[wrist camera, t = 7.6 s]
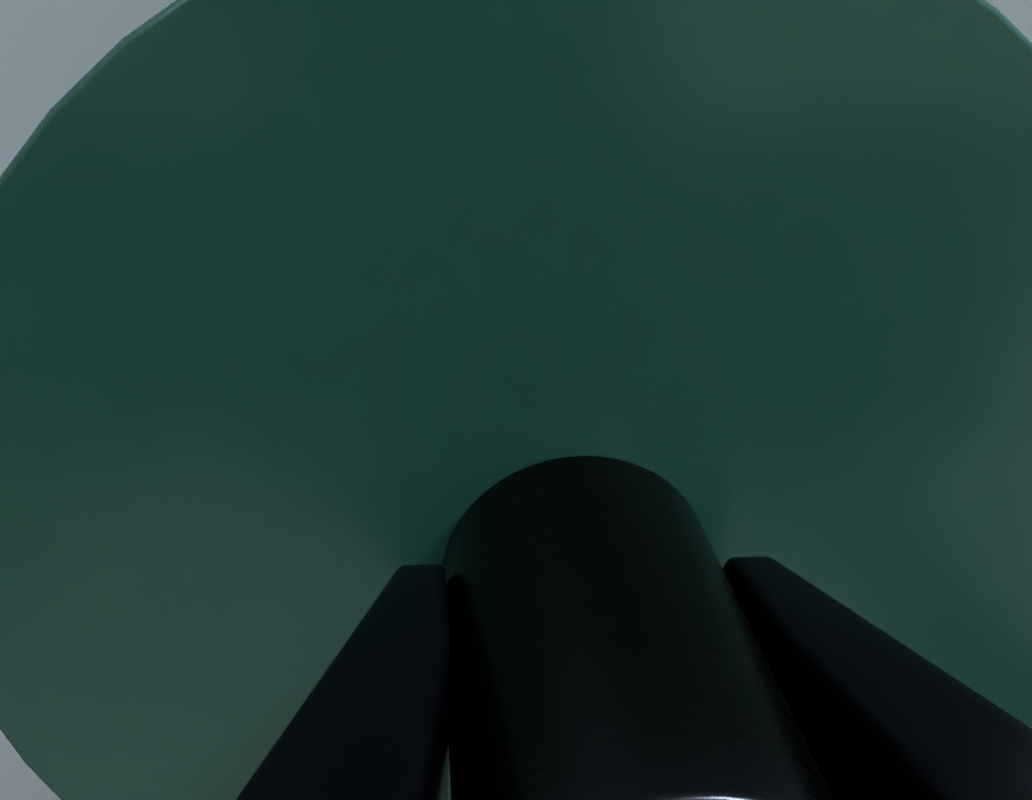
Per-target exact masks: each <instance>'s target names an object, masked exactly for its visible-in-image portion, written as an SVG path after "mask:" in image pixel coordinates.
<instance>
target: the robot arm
mask: <svg viewBox="0 0 1032 800" xmlns="http://www.w3.org/2000/svg"><path fill="white" fill-rule="evenodd" d="M723 571H724V573H725V575H726V577H727V579H728V581H729V583H730V585H731V587H732V589H733V591H734V593H735V596H736V598H737V600H738V602H739V604H740V606H741V608H742V610H743V612H744V614H745V616H746V618H747V620H748V623H749V625H750V627H751V629H752V631H753V633H754V635H755V637H756V639H757V641H758V643H759V645H760V648H761V650H762V652H763V654H764V656H765V658H766V660H767V662H768V664H769V666H770V668H771V670H772V673H773V675H774V677H775V679H776V681H777V683H778V685H779V687H780V689H781V691H782V693H783V695H784V698H785V700H786V702H787V704H788V706H789V708H790V710H791V712H792V714H793V716H794V718H795V720H796V723H797V725H798V727H799V729H800V731H801V733H802V735H803V737H804V739H805V741H806V743H807V745H808V748H809V750H810V752H811V754H812V756H813V758H814V760H815V762H816V764H817V766H818V768H819V770H820V773H821V775H822V777H823V779H824V781H825V783H826V785H827V787H828V789H829V791H830V793H831V795H832V798H833V800H1032V728H1030V727H1029V726H1027V725H1026V724H1024V723H1023V722H1021V721H1020V720H1018V719H1017V718H1015V717H1014V716H1012V715H1011V714H1009V713H1008V712H1006V711H1005V710H1003V709H1002V708H1000V707H998V706H997V705H995V704H994V703H992V702H991V701H989V700H988V699H986V698H985V697H983V696H982V695H980V694H979V693H977V692H976V691H974V690H973V689H971V688H970V687H968V686H966V685H965V684H963V683H962V682H960V681H959V680H957V679H956V678H954V677H953V676H951V675H950V674H948V673H947V672H945V671H944V670H942V669H941V668H939V667H938V666H936V665H934V664H933V663H931V662H930V661H928V660H927V659H925V658H924V657H922V656H921V655H919V654H918V653H916V652H915V651H913V650H912V649H910V648H909V647H907V646H906V645H904V644H903V643H901V642H899V641H898V640H896V639H895V638H893V637H892V636H890V635H889V634H887V633H886V632H884V631H883V630H881V629H880V628H878V627H877V626H875V625H874V624H872V623H871V622H869V621H867V620H866V619H864V618H863V617H861V616H860V615H858V614H857V613H855V612H854V611H852V610H851V609H849V608H848V607H846V606H845V605H843V604H842V603H840V602H839V601H837V600H835V599H834V598H832V597H831V596H829V595H828V594H826V593H825V592H823V591H822V590H820V589H819V588H817V587H816V586H814V585H813V584H811V583H810V582H808V581H807V580H805V579H803V578H802V577H800V576H799V575H797V574H796V573H794V572H793V571H791V570H790V569H788V568H787V567H785V566H784V565H782V564H781V563H779V562H778V561H776V560H774V559H772V558H771V557H767V556H754V557H731V558H730V559H728V560H727V561H726V562H725V564H724V566H723ZM449 703H450V627H449V613H448V599H447V585H446V573H445V569H444V568H443V566H441V565H439V564H420V565H402V566H401V567H399V568H398V569H397V570H396V572H395V573H394V574H393V576H392V577H391V579H390V580H389V581H388V583H387V584H386V586H385V587H384V589H383V590H382V591H381V593H380V594H379V596H378V597H377V599H376V600H375V601H374V603H373V604H372V606H371V607H370V609H369V610H368V611H367V613H366V614H365V616H364V617H363V619H362V620H361V621H360V623H359V624H358V626H357V627H356V629H355V630H354V631H353V633H352V634H351V636H350V637H349V639H348V640H347V641H346V643H345V644H344V646H343V647H342V648H341V650H340V651H339V653H338V654H337V656H336V657H335V658H334V660H333V661H332V663H331V664H330V666H329V667H328V668H327V670H326V671H325V673H324V674H323V676H322V677H321V678H320V680H319V681H318V683H317V684H316V686H315V687H314V688H313V690H312V691H311V693H310V694H309V696H308V697H307V698H306V700H305V701H304V703H303V704H302V706H301V707H300V708H299V710H298V711H297V713H296V714H295V716H294V717H293V718H292V720H291V721H290V723H289V724H288V726H287V727H286V728H285V730H284V731H283V733H282V734H281V736H280V737H279V738H278V740H277V741H276V743H275V744H274V746H273V747H272V748H271V750H270V751H269V753H268V754H267V756H266V757H265V758H264V760H263V761H262V763H261V764H260V765H259V767H258V768H257V770H256V771H255V773H254V774H253V775H252V777H251V778H250V780H249V781H248V783H247V784H246V785H245V787H244V788H243V790H242V791H241V793H240V794H239V795H238V797H237V798H236V800H448V783H449V747H448V726H449Z"/></svg>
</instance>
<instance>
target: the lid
mask: <svg viewBox="0 0 1032 800" xmlns="http://www.w3.org/2000/svg"><path fill="white" fill-rule="evenodd" d="M754 556H767V557H771V558H772V559H774V560H776V561H778V562H779V563H781V564H782V565H784V566H785V567H787V568H788V569H790V570H791V571H793V572H794V573H796V574H797V575H799V576H800V577H802V578H803V579H805V580H807V581H808V582H810V583H811V584H813V585H814V586H816V587H817V588H819V589H820V590H822V591H823V592H825V593H826V594H828V595H829V596H831V597H832V598H834V599H835V600H837V601H839V602H840V603H842V604H843V605H845V606H846V607H848V608H849V609H851V610H852V611H854V612H855V613H857V614H858V615H860V616H861V617H863V618H864V619H866V620H867V621H869V622H871V623H872V624H874V625H875V626H877V627H878V628H880V629H881V630H883V631H884V632H886V633H887V634H889V635H890V636H892V637H893V638H895V639H896V640H898V641H899V642H901V643H903V644H904V645H906V646H907V647H909V648H910V649H912V650H913V651H915V652H916V653H918V654H919V655H921V656H922V657H924V658H925V659H927V660H928V661H930V662H931V663H933V664H934V665H936V666H938V667H939V668H941V669H942V670H944V671H945V672H947V673H948V674H950V675H951V676H953V677H954V678H956V679H957V680H959V681H960V682H962V683H963V684H965V685H966V686H968V687H970V688H971V689H973V690H974V691H976V692H977V693H979V694H980V695H982V696H983V697H985V698H986V699H988V700H989V701H991V702H992V703H994V704H995V705H997V706H998V707H1000V708H1002V709H1003V710H1005V711H1006V712H1008V713H1009V714H1011V715H1012V716H1014V717H1015V718H1017V719H1018V720H1020V721H1021V722H1023V723H1024V724H1026V725H1027V726H1029V727H1030V728H1032V43H1031V42H1030V41H1029V40H1028V39H1027V38H1026V37H1025V36H1024V35H1023V34H1022V33H1021V32H1020V31H1019V30H1018V29H1017V28H1016V27H1015V26H1014V25H1013V24H1012V23H1011V22H1010V21H1009V20H1008V19H1007V18H1006V17H1005V16H1004V15H1003V14H1002V13H1001V12H1000V11H999V10H998V9H997V8H996V7H994V6H993V5H991V4H990V3H988V2H987V1H985V0H176V1H175V2H173V3H172V4H170V5H169V6H168V7H166V8H165V9H163V10H162V11H161V12H159V13H158V14H156V15H155V16H154V17H152V18H151V19H149V20H148V21H147V22H145V23H144V24H143V25H141V26H140V27H138V28H137V29H136V30H134V31H133V32H131V33H130V34H129V35H127V36H126V37H124V38H123V39H122V40H121V41H120V42H119V43H118V44H117V45H116V46H115V47H114V48H113V49H112V50H110V51H109V52H108V53H107V54H106V55H105V56H104V57H103V58H102V59H101V60H100V61H99V62H98V63H97V64H96V65H95V66H94V67H93V68H92V69H91V70H90V71H89V72H88V73H87V74H86V75H85V76H84V77H83V78H82V79H81V80H80V81H79V82H78V83H77V84H76V85H75V86H74V87H73V88H72V89H71V90H70V91H69V92H68V93H67V94H66V95H65V96H64V97H63V98H61V99H60V100H59V101H58V102H57V103H56V104H55V105H54V106H53V107H52V108H51V109H50V110H49V112H48V113H47V114H46V116H45V117H44V119H43V120H42V121H41V123H40V124H39V125H38V127H37V128H36V129H35V131H34V132H33V133H32V135H31V136H30V137H29V139H28V140H27V141H26V143H25V144H24V145H23V147H22V148H21V150H20V151H19V152H18V154H17V155H16V156H15V158H14V159H13V160H12V162H11V163H10V164H9V166H8V167H7V168H6V170H5V171H4V172H3V174H2V175H1V177H0V729H1V731H2V732H3V733H4V735H5V736H6V738H7V739H8V740H9V742H10V743H11V744H12V746H13V747H14V748H15V750H16V751H17V752H18V754H19V755H20V756H21V758H22V759H23V760H24V762H25V763H26V764H27V765H28V766H29V767H30V768H31V769H32V770H33V771H34V772H35V773H36V774H37V775H38V776H39V777H40V778H41V780H42V781H43V782H44V783H45V784H46V785H47V786H48V787H49V788H50V789H51V790H52V791H53V792H54V793H55V794H56V795H57V796H58V797H59V798H60V799H61V800H236V798H237V797H238V795H239V794H240V793H241V791H242V790H243V788H244V787H245V785H246V784H247V783H248V781H249V780H250V778H251V777H252V775H253V774H254V773H255V771H256V770H257V768H258V767H259V765H260V764H261V763H262V761H263V760H264V758H265V757H266V756H267V754H268V753H269V751H270V750H271V748H272V747H273V746H274V744H275V743H276V741H277V740H278V738H279V737H280V736H281V734H282V733H283V731H284V730H285V728H286V727H287V726H288V724H289V723H290V721H291V720H292V718H293V717H294V716H295V714H296V713H297V711H298V710H299V708H300V707H301V706H302V704H303V703H304V701H305V700H306V698H307V697H308V696H309V694H310V693H311V691H312V690H313V688H314V687H315V686H316V684H317V683H318V681H319V680H320V678H321V677H322V676H323V674H324V673H325V671H326V670H327V668H328V667H329V666H330V664H331V663H332V661H333V660H334V658H335V657H336V656H337V654H338V653H339V651H340V650H341V648H342V647H343V646H344V644H345V643H346V641H347V640H348V639H349V637H350V636H351V634H352V633H353V631H354V630H355V629H356V627H357V626H358V624H359V623H360V621H361V620H362V619H363V617H364V616H365V614H366V613H367V611H368V610H369V609H370V607H371V606H372V604H373V603H374V601H375V600H376V599H377V597H378V596H379V594H380V593H381V591H382V590H383V589H384V587H385V586H386V584H387V583H388V581H389V580H390V579H391V577H392V576H393V574H394V573H395V572H396V570H397V569H398V568H399V567H401V566H402V565H420V564H439V565H441V566H443V568H444V569H445V573H446V585H447V599H448V613H449V627H450V703H449V726H448V747H449V783H448V800H833V798H832V795H831V793H830V791H829V789H828V787H827V785H826V783H825V781H824V779H823V777H822V775H821V773H820V770H819V768H818V766H817V764H816V762H815V760H814V758H813V756H812V754H811V752H810V750H809V748H808V745H807V743H806V741H805V739H804V737H803V735H802V733H801V731H800V729H799V727H798V725H797V723H796V720H795V718H794V716H793V714H792V712H791V710H790V708H789V706H788V704H787V702H786V700H785V698H784V695H783V693H782V691H781V689H780V687H779V685H778V683H777V681H776V679H775V677H774V675H773V673H772V670H771V668H770V666H769V664H768V662H767V660H766V658H765V656H764V654H763V652H762V650H761V648H760V645H759V643H758V641H757V639H756V637H755V635H754V633H753V631H752V629H751V627H750V625H749V623H748V620H747V618H746V616H745V614H744V612H743V610H742V608H741V606H740V604H739V602H738V600H737V598H736V596H735V593H734V591H733V589H732V587H731V585H730V583H729V581H728V579H727V577H726V575H725V573H724V571H723V566H724V564H725V562H726V561H727V560H728V559H730V558H731V557H754Z"/></svg>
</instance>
